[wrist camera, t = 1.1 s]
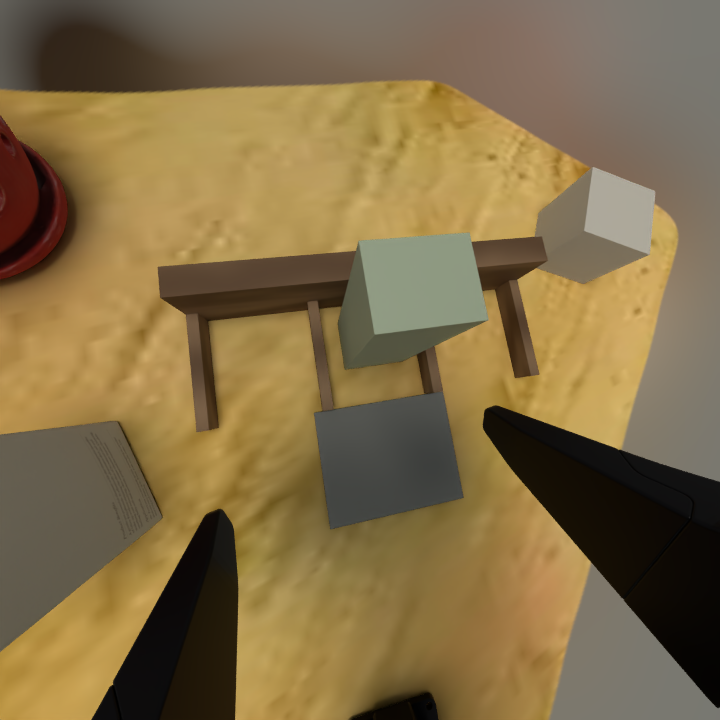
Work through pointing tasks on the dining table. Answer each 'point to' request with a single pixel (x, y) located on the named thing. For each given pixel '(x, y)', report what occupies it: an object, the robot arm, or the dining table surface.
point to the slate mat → (386, 458)
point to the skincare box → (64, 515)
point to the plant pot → (27, 206)
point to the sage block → (408, 297)
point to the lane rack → (327, 305)
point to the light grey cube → (596, 226)
